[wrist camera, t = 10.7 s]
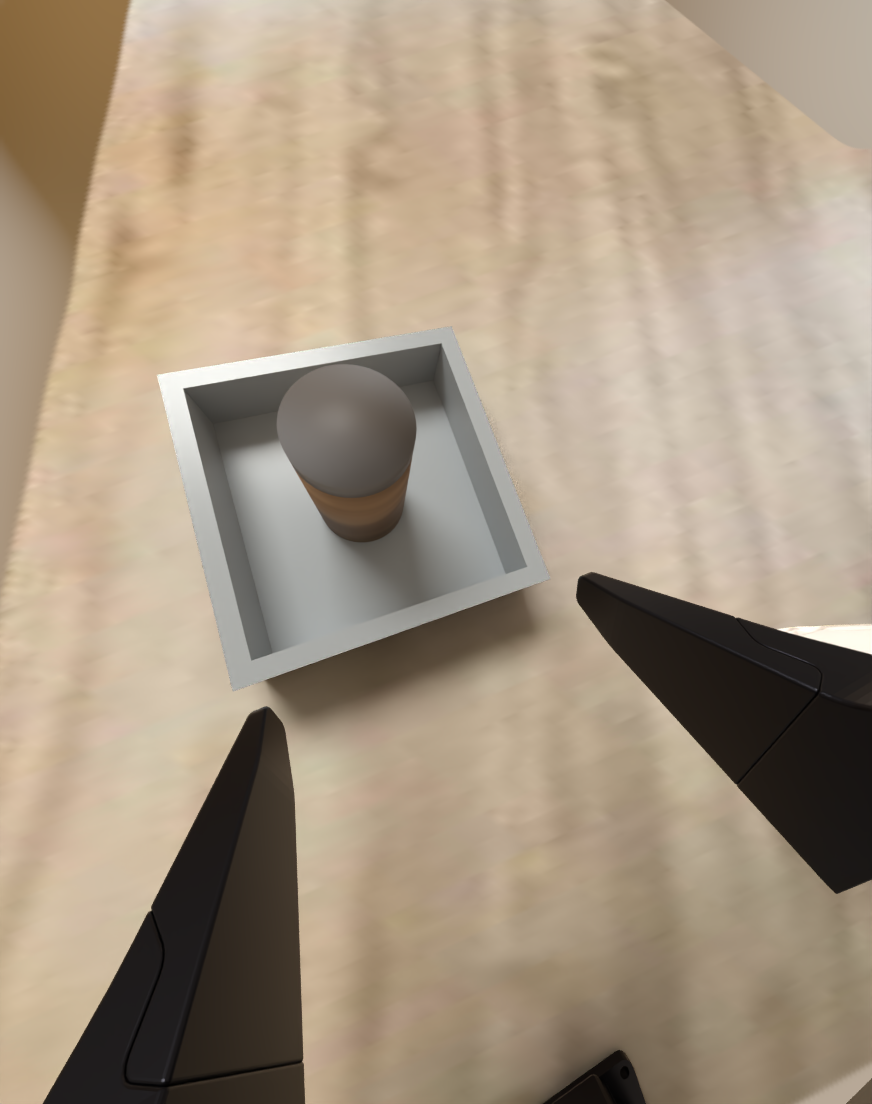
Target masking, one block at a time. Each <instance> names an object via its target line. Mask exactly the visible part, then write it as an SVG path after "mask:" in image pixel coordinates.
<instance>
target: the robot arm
mask: <svg viewBox="0 0 872 1104" xmlns="http://www.w3.org/2000/svg"><path fill="white" fill-rule="evenodd" d="M576 598H577V602H578V603H579V605H580V606H581V608H582V609H583V610H584V612H585V613H586V614H587V616H588V617H589V619H590V620H591V621H592V623H593V624H594V625H595V627H596V628H597V629H598V631H599V632H600V633H601V635H602V636H603V637H604V639H605V640H606V641H607V643H608V644H609V645H610V646H611V647H612V649H613V650H614V651H615V652H616V653H617V654H618V655H619V656H620V657H621V659H622V660H623V661H624V662H625V663H626V664H627V665H628V666H629V667H630V668H631V670H632V671H633V672H634V673H635V674H636V675H637V676H638V677H639V678H640V679H641V681H642V682H643V683H644V684H645V685H646V686H647V687H648V688H649V689H650V690H651V692H652V693H653V694H654V695H655V696H656V697H657V698H658V699H659V700H660V701H661V703H662V704H663V705H664V706H665V707H666V708H667V709H668V710H669V711H670V713H671V714H672V715H673V716H674V717H675V718H676V719H677V720H678V721H679V722H680V724H681V725H682V726H683V727H684V728H685V729H686V730H687V731H688V732H689V733H690V735H691V736H692V737H693V738H694V739H695V740H696V741H697V742H698V743H699V744H700V746H701V747H702V748H703V749H704V750H705V751H706V752H707V753H708V754H709V755H710V757H711V758H712V759H713V760H714V761H715V762H716V763H717V764H718V765H719V766H720V768H721V769H722V770H723V771H724V772H725V773H726V774H727V775H728V776H729V778H730V779H731V780H732V781H733V782H734V783H735V784H737V787H738V788H739V789H740V790H741V791H742V792H743V793H744V794H745V795H746V797H747V798H748V799H749V800H750V801H751V802H752V803H753V804H754V805H755V806H756V808H757V809H758V810H759V811H760V812H761V813H762V814H763V815H764V816H765V817H766V819H767V820H768V821H769V822H770V823H771V824H772V825H773V826H774V827H775V828H776V830H777V831H778V832H779V833H780V834H781V835H782V836H783V837H784V838H785V839H786V841H787V842H788V843H789V844H790V845H791V846H792V847H793V848H794V849H795V850H796V852H797V853H798V854H799V855H800V856H801V857H802V858H803V859H804V860H805V861H806V863H807V864H808V865H809V866H810V867H811V868H812V869H813V870H814V871H815V872H816V874H817V875H818V876H819V877H820V878H821V879H822V880H823V881H824V882H825V883H826V884H827V885H828V886H829V887H830V888H831V889H832V890H833V891H834V892H835V893H836V894H838V893H841V892H843V891H846V890H848V889H850V888H853V887H855V886H858V885H860V884H862V883H865V882H867V881H870V880H872V654H869V653H865V652H861V651H857V650H853V649H849V648H845V647H841V646H837V645H834V644H830V643H826V642H822V641H818V640H814V639H810V638H806V637H803V636H799V635H795V634H792V633H788V632H784V631H781V630H777V629H774V628H770V627H767V626H764V625H760V624H757V623H754V622H751V621H747V620H744V619H741V618H735V617H734V616H731V615H728V614H725V613H722V612H718V611H715V610H712V609H709V608H706V607H703V606H699V605H696V604H693V603H690V602H687V601H683V600H680V599H677V598H674V597H671V596H668V595H664V594H661V593H658V592H655V591H652V590H648V589H645V588H642V587H639V586H636V585H632V584H629V583H626V582H623V581H620V580H617V579H613V578H610V577H607V576H604V575H601V574H597V573H594V572H590V573H587V574H585V575H582V576H580V577H579V579H578V584H577V593H576ZM151 910H152V911H149V912H148V913H147V915H146V917H145V919H144V921H143V923H142V925H141V927H140V929H139V931H138V933H137V935H136V937H135V939H134V941H133V943H132V945H131V947H130V948H129V950H128V952H127V954H126V956H125V958H124V960H123V962H122V964H121V966H120V967H119V969H118V971H117V973H116V975H115V977H114V979H113V981H112V983H111V984H110V986H109V988H108V990H107V992H106V994H105V995H104V997H103V999H102V1001H101V1002H100V1004H99V1006H98V1008H97V1010H96V1011H95V1013H94V1015H93V1017H92V1018H91V1020H90V1022H89V1024H88V1026H87V1027H86V1029H85V1031H84V1033H83V1034H82V1036H81V1038H80V1040H79V1042H78V1043H77V1045H76V1047H75V1049H74V1050H73V1052H72V1054H71V1055H70V1057H69V1059H68V1061H67V1062H66V1064H65V1066H64V1068H63V1069H62V1071H61V1073H60V1074H59V1076H58V1078H57V1080H56V1081H55V1083H54V1085H53V1087H52V1088H51V1090H50V1092H49V1093H48V1095H47V1097H46V1099H45V1100H44V1102H43V1104H305V1088H304V1064H303V1062H302V1061H303V1035H302V1004H301V974H300V944H299V913H298V883H297V853H296V823H295V798H294V788H293V780H292V774H291V767H290V760H289V753H288V747H287V740H286V733H285V728H284V725H283V723H282V722H281V720H280V719H279V718H278V717H277V716H276V714H275V713H274V712H273V711H272V709H271V708H270V707H267V706H266V707H263V708H260V709H258V710H256V711H253V712H251V713H250V714H249V716H248V717H247V719H246V721H245V723H244V725H243V727H242V729H241V731H240V733H239V735H238V737H237V739H236V741H235V743H234V745H233V746H232V748H231V750H230V752H229V754H228V756H227V758H226V760H225V762H224V764H223V766H222V768H221V770H220V772H219V774H218V776H217V778H216V780H215V782H214V784H213V786H212V788H211V790H210V792H209V794H208V796H207V798H206V800H205V802H204V804H203V806H202V807H201V809H200V811H199V813H198V815H197V817H196V819H195V821H194V823H193V825H192V827H191V829H190V831H189V833H188V835H187V837H186V839H185V841H184V843H183V845H182V847H181V849H180V851H179V853H178V855H177V857H176V859H175V861H174V863H173V865H172V866H171V868H170V870H169V872H168V874H167V876H166V878H165V880H164V882H163V884H162V886H161V888H160V890H159V892H158V894H157V896H156V898H155V900H154V902H153V904H152V906H151ZM621 1068H622V1069H621ZM543 1104H646V1103H645V1100H644V1097H643V1094H642V1091H641V1088H640V1086H639V1083H638V1080H637V1077H636V1074H635V1071H634V1068H633V1066H632V1064H631V1062H630V1061H629V1059H628V1057H627V1055H626V1054H625V1053H624V1052H623V1051H620V1050H618V1051H616V1052H614V1053H613V1054H612V1055H610V1056H609V1057H607V1058H606V1059H605V1060H603V1061H602V1062H600V1063H599V1064H598V1065H596V1066H595V1067H593V1068H592V1069H591V1070H589V1071H588V1072H587V1073H585V1074H584V1075H582V1076H581V1077H580V1078H578V1079H577V1080H575V1081H574V1082H573V1083H571V1084H570V1085H568V1086H567V1087H566V1088H564V1089H563V1090H562V1091H560V1092H559V1093H557V1094H556V1095H555V1096H553V1097H552V1098H550V1099H549V1100H548V1101H546V1102H545V1103H543ZM846 1104H872V1079H871V1080H870V1081H869V1082H868V1083H867V1084H866V1085H865V1086H864V1087H863V1088H862V1089H861V1090H860V1091H859V1092H858V1093H857V1094H856V1095H855V1096H853V1097H852V1099H850V1101H848V1102H847V1103H846Z"/></svg>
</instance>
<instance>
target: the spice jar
mask: <svg viewBox="0 0 872 1104" xmlns="http://www.w3.org/2000/svg"><path fill="white" fill-rule="evenodd" d="M416 431H417V428H416V418H415V414H414V411H413V408H412V405H411V403H410V401H409V399H408V398H407V397H406V395H405V394H404V392H403V391H402V390H401V389H400V388H399V386H397V385H396V384H395V383H394V382H393V381H392V380H390V379H389V378H387V377H386V376H384V375H383V374H381V373H379V372H377V371H374V370H372V369H370V368H366V367H362V366H357V365H349V364H338V365H330V366H325V367H322V368H318V369H316V370H314V371H311V372H309V373H307V374H306V375H304V376H302V377H301V378H300V379H299V380H297V381H296V382H295V383H294V384H293V385H292V386H291V387H290V388H289V390H288V391H287V392H286V394H285V395H284V397H283V399H282V401H281V404H280V407H279V409H278V415H277V433H278V437H279V441H280V444H281V446H282V448H283V451H284V452H285V454H286V456H287V457H288V459H289V461H290V463H291V464H292V466H293V468H294V470H295V471H296V473H297V475H298V477H299V478H300V480H301V482H302V483H303V485H304V487H305V489H306V490H307V492H308V494H309V496H310V497H311V499H312V501H313V503H314V504H315V506H316V508H317V509H318V511H319V513H320V515H321V516H322V518H323V520H324V521H325V523H326V525H327V526H328V527H329V528H330V529H331V530H332V531H333V532H334V533H335V534H337V535H338V536H340V537H342V538H344V539H346V540H349V541H353V542H371V541H375V540H378V539H380V538H382V537H384V536H386V535H387V534H388V533H390V532H391V531H392V530H393V529H394V528H395V527H396V525H397V524H398V522H399V520H400V518H401V516H402V512H403V507H404V502H405V496H406V491H407V485H408V479H409V474H410V468H411V462H412V457H413V451H414V445H415V440H416Z"/></svg>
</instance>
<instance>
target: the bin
mask: <svg viewBox="0 0 872 1104" xmlns="http://www.w3.org/2000/svg"><path fill="white" fill-rule="evenodd" d="M338 364H349V365H357V366H362V367H366V368H370V369H372V370H374V371H377V372H379V373H381V374H383V375H384V376H386V377H387V378H389V379H390V380H392V381H393V382H394V383H395V384H396V385H397V386H399V388H400V389H401V390H402V391H403V392H404V394H405V395H406V397H407V398H408V399H409V401H410V403H411V405H412V408H413V411H414V414H415V418H416V428H417V431H416V440H415V445H414V451H413V457H412V462H411V468H410V474H409V479H408V485H407V491H406V496H405V502H404V507H403V512H402V516H401V518H400V520H399V522H398V524H397V525H396V527H395V528H394V529H393V530H392V531H391V532H390V533H388V534H387V535H386V536H384V537H382V538H380V539H378V540H375V541H371V542H353V541H349V540H346V539H344V538H342V537H340V536H338V535H337V534H335V533H334V532H333V531H332V530H331V529H330V528H329V527H328V526H327V525H326V523H325V521H324V520H323V518H322V516H321V515H320V513H319V511H318V509H317V508H316V506H315V504H314V503H313V501H312V499H311V497H310V496H309V494H308V492H307V490H306V489H305V487H304V485H303V483H302V482H301V480H300V478H299V477H298V475H297V473H296V471H295V470H294V468H293V466H292V464H291V463H290V461H289V459H288V457H287V456H286V454H285V452H284V451H283V448H282V446H281V444H280V441H279V437H278V433H277V415H278V409H279V407H280V404H281V401H282V399H283V397H284V395H285V394H286V392H287V391H288V390H289V388H290V387H291V386H292V385H293V384H294V383H295V382H296V381H297V380H299V379H300V378H301V377H302V376H304V375H306V374H307V373H309V372H311V371H314V370H316V369H318V368H322V367H325V366H330V365H338ZM157 376H158V380H159V385H160V389H161V393H162V397H163V401H164V406H165V410H166V414H167V418H168V422H169V427H170V431H171V435H172V439H173V443H174V447H175V452H176V456H177V460H178V464H179V468H180V473H181V477H182V481H183V485H184V489H185V493H186V498H187V502H188V506H189V510H190V514H191V519H192V523H193V527H194V531H195V535H196V540H197V544H198V548H199V552H200V556H201V560H202V565H203V569H204V573H205V577H206V581H207V586H208V590H209V594H210V598H211V602H212V607H213V611H214V615H215V619H216V623H217V627H218V632H219V636H220V640H221V644H222V648H223V653H224V657H225V661H226V665H227V669H228V674H229V678H230V682H231V686H232V690H233V691H236V690H238V689H241V688H244V687H247V686H250V685H253V684H255V683H258V682H261V681H264V680H267V679H269V678H272V677H275V676H278V675H281V674H284V673H286V672H289V671H292V670H295V669H298V668H300V667H303V666H306V665H309V664H312V663H315V662H317V661H320V660H323V659H326V658H329V657H332V656H334V655H337V654H340V653H343V652H346V651H348V650H351V649H354V648H357V647H360V646H363V645H365V644H368V643H371V642H374V641H377V640H380V639H382V638H385V637H388V636H391V635H394V634H396V633H399V632H402V631H405V630H408V629H411V628H413V627H416V626H419V625H422V624H425V623H427V622H430V621H433V620H436V619H439V618H442V617H444V616H447V615H450V614H453V613H456V612H459V611H461V610H464V609H467V608H470V607H473V606H475V605H478V604H481V603H484V602H487V601H490V600H492V599H495V598H498V597H501V596H504V595H507V594H509V593H512V592H515V591H518V590H521V589H523V588H526V587H529V586H532V585H535V584H538V583H540V582H543V581H546V580H549V579H550V576H549V574H548V571H547V569H546V566H545V563H544V561H543V558H542V556H541V553H540V551H539V548H538V546H537V543H536V540H535V538H534V535H533V533H532V530H531V528H530V525H529V523H528V520H527V518H526V515H525V512H524V510H523V507H522V505H521V502H520V500H519V497H518V495H517V492H516V489H515V487H514V484H513V482H512V479H511V477H510V474H509V472H508V469H507V466H506V464H505V461H504V459H503V456H502V454H501V451H500V449H499V446H498V444H497V441H496V438H495V436H494V433H493V431H492V428H491V426H490V423H489V421H488V418H487V415H486V413H485V410H484V408H483V405H482V403H481V400H480V398H479V395H478V392H477V390H476V387H475V385H474V382H473V380H472V377H471V375H470V372H469V370H468V367H467V364H466V362H465V359H464V357H463V354H462V352H461V349H460V347H459V344H458V341H457V339H456V336H455V334H454V331H453V329H452V326H451V327H445V328H439V329H432V330H426V331H420V332H414V333H408V334H402V335H396V336H390V337H384V338H378V339H372V340H366V341H360V342H354V343H348V344H342V345H336V346H329V347H323V348H317V349H311V350H305V351H299V352H293V353H287V354H281V355H275V356H269V357H263V358H257V359H251V360H245V361H239V362H232V363H226V364H220V365H214V366H208V367H202V368H196V369H190V370H184V371H178V372H172V373H166V374H160V375H157Z"/></svg>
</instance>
